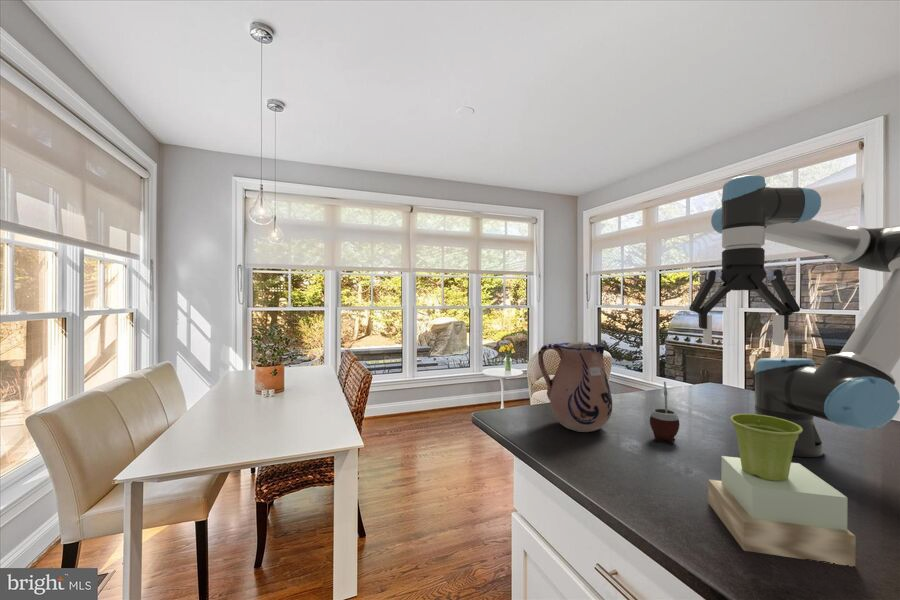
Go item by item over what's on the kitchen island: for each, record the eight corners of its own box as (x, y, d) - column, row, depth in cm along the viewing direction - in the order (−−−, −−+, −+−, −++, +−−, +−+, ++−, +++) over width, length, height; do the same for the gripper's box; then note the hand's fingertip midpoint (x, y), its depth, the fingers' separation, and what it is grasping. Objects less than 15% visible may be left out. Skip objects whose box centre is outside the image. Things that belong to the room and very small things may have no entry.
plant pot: (817, 489, 59) (818, 434, 59) (749, 484, 61) (749, 430, 61) (778, 463, 69) (778, 415, 68) (719, 459, 70) (719, 412, 70)
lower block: (796, 516, 70) (796, 488, 69) (855, 569, 56) (855, 536, 56) (708, 505, 73) (708, 479, 73) (743, 553, 60) (743, 521, 60)
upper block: (798, 491, 69) (799, 463, 69) (847, 530, 57) (847, 497, 57) (721, 482, 72) (721, 456, 72) (752, 518, 60) (752, 487, 60)
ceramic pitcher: (619, 440, 105) (619, 348, 104) (540, 435, 108) (540, 347, 108) (604, 419, 122) (605, 341, 122) (536, 416, 126) (536, 340, 125)
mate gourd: (662, 446, 100) (663, 389, 100) (641, 436, 108) (642, 382, 108) (687, 444, 102) (687, 388, 101) (664, 433, 109) (665, 381, 109)
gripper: (799, 248, 85) (798, 343, 86) (674, 252, 91) (674, 340, 92) (822, 244, 78) (821, 348, 78) (685, 248, 84) (685, 344, 84)
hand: (742, 344), depth 85 cm, fingers open, 13 cm apart
